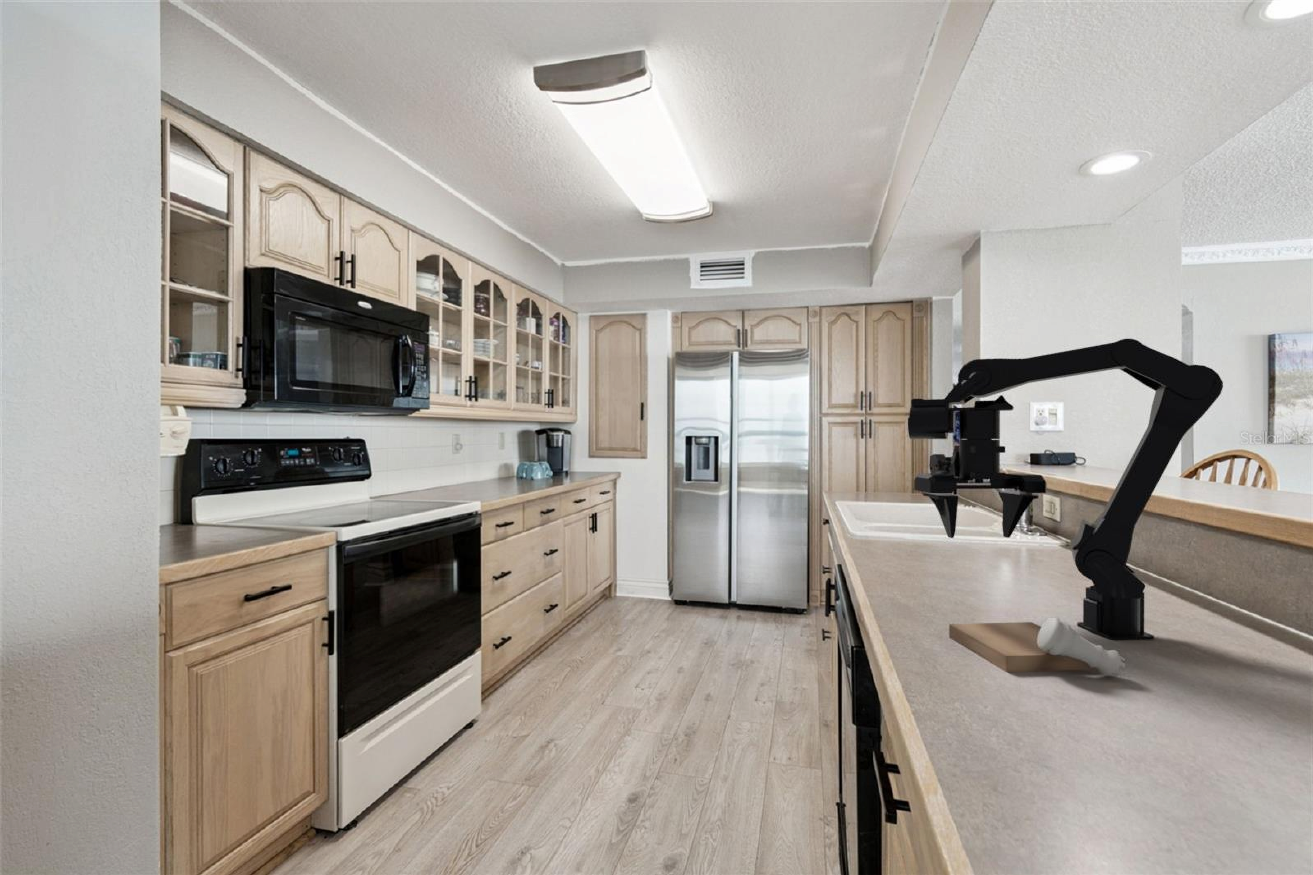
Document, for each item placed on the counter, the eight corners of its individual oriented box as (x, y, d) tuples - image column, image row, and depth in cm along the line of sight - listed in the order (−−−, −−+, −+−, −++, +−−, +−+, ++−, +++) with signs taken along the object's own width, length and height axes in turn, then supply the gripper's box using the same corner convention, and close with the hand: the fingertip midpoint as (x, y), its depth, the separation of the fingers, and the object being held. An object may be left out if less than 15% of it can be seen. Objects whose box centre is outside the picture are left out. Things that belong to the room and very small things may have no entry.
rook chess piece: (1052, 641, 68) (1129, 678, 66) (1058, 609, 71) (1132, 644, 68) (1032, 654, 72) (1105, 690, 69) (1039, 623, 74) (1109, 657, 71)
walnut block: (1031, 639, 83) (1031, 622, 83) (1100, 674, 71) (1100, 653, 71) (949, 641, 83) (949, 624, 83) (1005, 676, 71) (1005, 656, 71)
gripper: (1003, 439, 103) (1002, 529, 103) (898, 439, 102) (898, 529, 102) (1049, 439, 92) (1048, 540, 92) (932, 439, 90) (932, 541, 91)
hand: (978, 537), depth 94 cm, fingers open, 9 cm apart
